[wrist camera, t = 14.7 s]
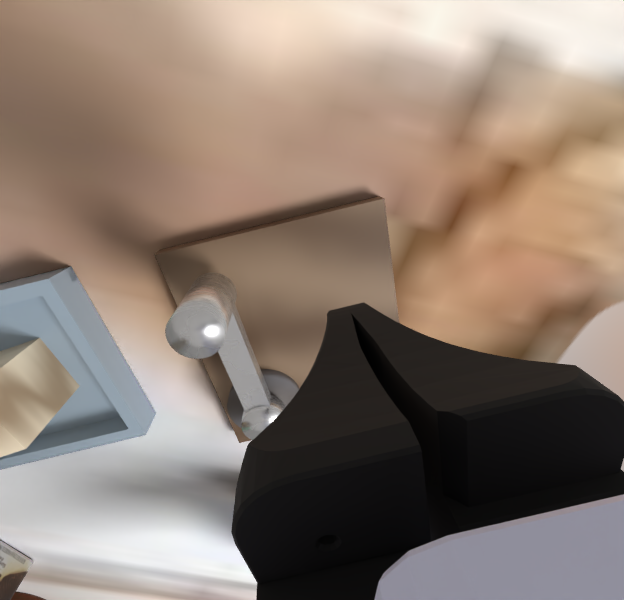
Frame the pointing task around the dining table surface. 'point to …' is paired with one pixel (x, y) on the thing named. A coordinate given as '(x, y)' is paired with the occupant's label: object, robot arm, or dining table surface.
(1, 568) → the coffee box
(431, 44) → the dining table surface
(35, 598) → the food container
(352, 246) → the board
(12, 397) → the block
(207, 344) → the crank lever
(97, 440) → the tray
